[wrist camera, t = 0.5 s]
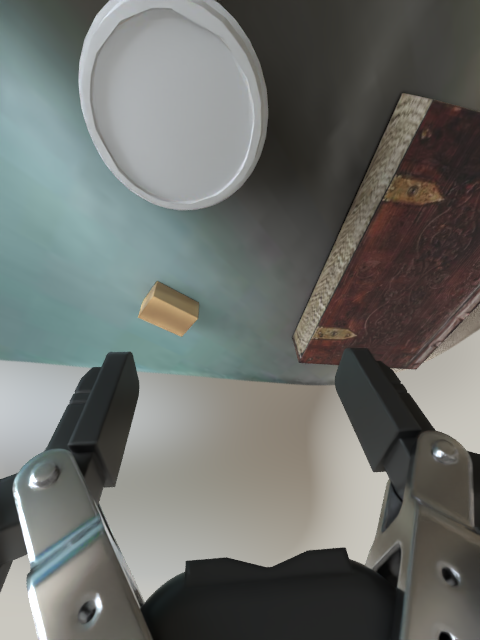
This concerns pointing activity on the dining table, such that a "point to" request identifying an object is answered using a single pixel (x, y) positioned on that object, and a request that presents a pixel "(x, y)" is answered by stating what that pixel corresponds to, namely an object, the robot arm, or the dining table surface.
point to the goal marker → (169, 309)
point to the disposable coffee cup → (173, 99)
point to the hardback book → (404, 244)
